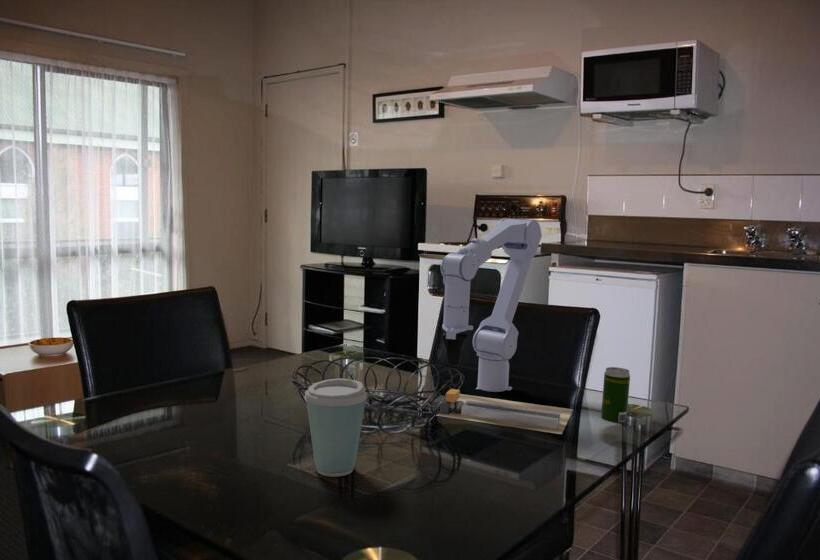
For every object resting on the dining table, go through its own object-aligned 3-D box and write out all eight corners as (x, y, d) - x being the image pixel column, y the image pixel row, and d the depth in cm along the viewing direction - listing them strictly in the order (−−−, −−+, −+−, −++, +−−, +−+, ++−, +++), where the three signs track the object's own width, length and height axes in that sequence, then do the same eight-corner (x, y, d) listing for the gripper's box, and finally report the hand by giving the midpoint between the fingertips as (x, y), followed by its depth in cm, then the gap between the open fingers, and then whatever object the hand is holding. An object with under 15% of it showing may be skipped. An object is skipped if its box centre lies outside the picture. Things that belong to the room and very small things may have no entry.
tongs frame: (440, 405, 159) (440, 395, 159) (560, 423, 150) (561, 411, 150) (432, 412, 154) (432, 401, 154) (556, 430, 145) (557, 419, 145)
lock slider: (450, 396, 157) (451, 388, 157) (459, 398, 156) (459, 390, 156) (445, 401, 153) (445, 393, 153) (454, 402, 153) (454, 394, 153)
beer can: (631, 424, 155) (635, 371, 154) (616, 429, 152) (621, 374, 150) (610, 418, 159) (614, 365, 158) (595, 422, 156) (599, 368, 155)
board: (453, 398, 170) (454, 393, 170) (572, 414, 161) (573, 409, 161) (429, 419, 152) (429, 414, 152) (561, 439, 143) (561, 434, 143)
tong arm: (456, 407, 157) (457, 398, 157) (560, 422, 150) (560, 412, 150) (453, 411, 154) (453, 402, 154) (558, 426, 147) (558, 416, 147)
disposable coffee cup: (339, 487, 115) (342, 397, 113) (288, 471, 120) (290, 385, 119) (376, 468, 124) (380, 383, 122) (327, 454, 129) (330, 373, 128)
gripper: (470, 312, 154) (467, 373, 156) (477, 303, 168) (474, 359, 170) (438, 309, 156) (435, 370, 157) (448, 301, 170) (445, 356, 171)
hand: (453, 364), depth 164 cm, fingers closed
